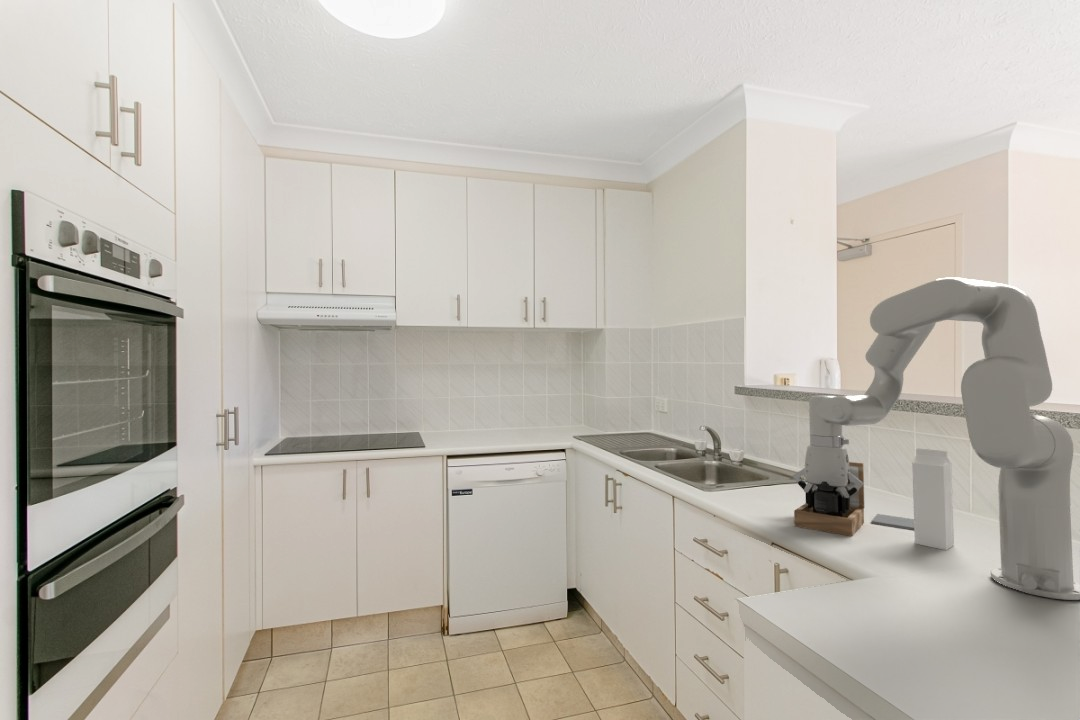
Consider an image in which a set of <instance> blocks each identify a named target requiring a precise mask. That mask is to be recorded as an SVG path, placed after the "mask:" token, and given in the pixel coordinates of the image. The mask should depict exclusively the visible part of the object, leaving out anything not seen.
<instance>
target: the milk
mask: <svg viewBox="0 0 1080 720" xmlns="http://www.w3.org/2000/svg"><path fill="white" fill-rule="evenodd" d="M915 453H916V454H915V457H914V459H913V461H912V463H911V464H912V466H911V467H912V495H913V519H914V530H913V531H914V533H913V534H914V544H916V545H921V546H924V547H929V548H934V549H940V550H943V551H947V550H949V549H950V548H952V547H954V546H955V535H954V533H955V532H954V531H955V529H954V507H953V506H954V505H953V503H954V501H953V498H954V497H953V481H952V480H953V477H952V476H953V475H952V471H953V469H952V462H951V461H950V460H949V458H948V451H946V450H941V449H940V450H939V449H929V448H916V449H915Z"/></svg>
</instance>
